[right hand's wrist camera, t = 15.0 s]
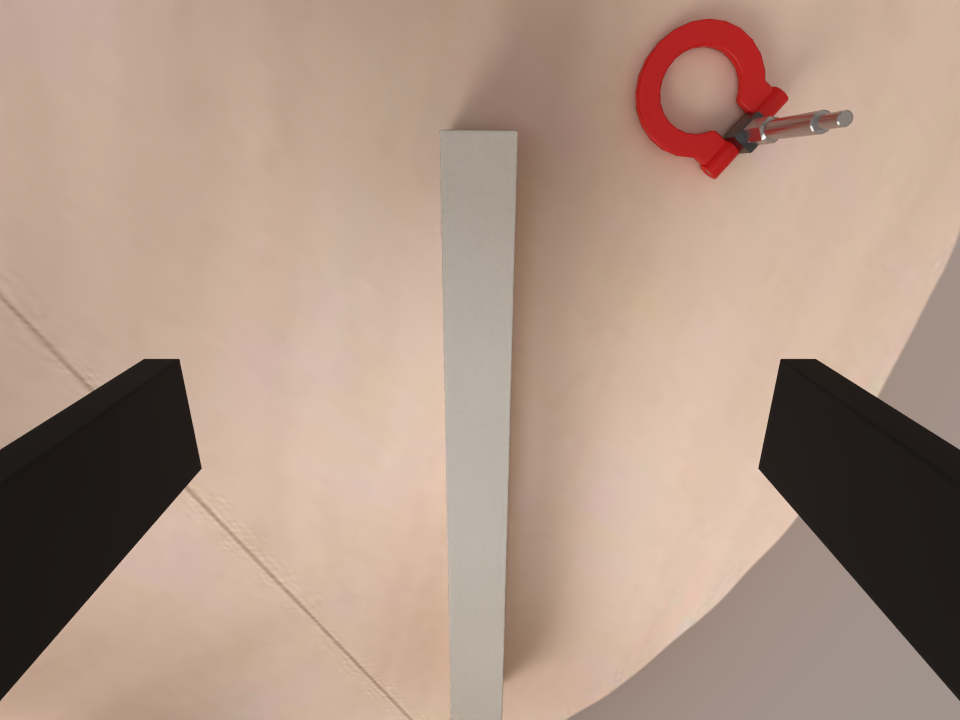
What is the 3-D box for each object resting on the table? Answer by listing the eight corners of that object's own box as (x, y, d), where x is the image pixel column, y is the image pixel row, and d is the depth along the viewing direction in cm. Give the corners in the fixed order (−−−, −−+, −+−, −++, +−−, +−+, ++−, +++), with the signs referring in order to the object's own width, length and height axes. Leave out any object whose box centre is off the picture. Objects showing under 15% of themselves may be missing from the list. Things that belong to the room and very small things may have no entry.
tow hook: (608, 102, 39) (701, 190, 41) (658, 70, 27) (788, 198, 28) (697, -7, 37) (792, 91, 38) (796, -95, 25) (929, 55, 26)
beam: (447, 133, 39) (439, 129, 32) (510, 133, 39) (518, 130, 32) (455, 686, 59) (451, 768, 51) (498, 686, 59) (500, 768, 51)
